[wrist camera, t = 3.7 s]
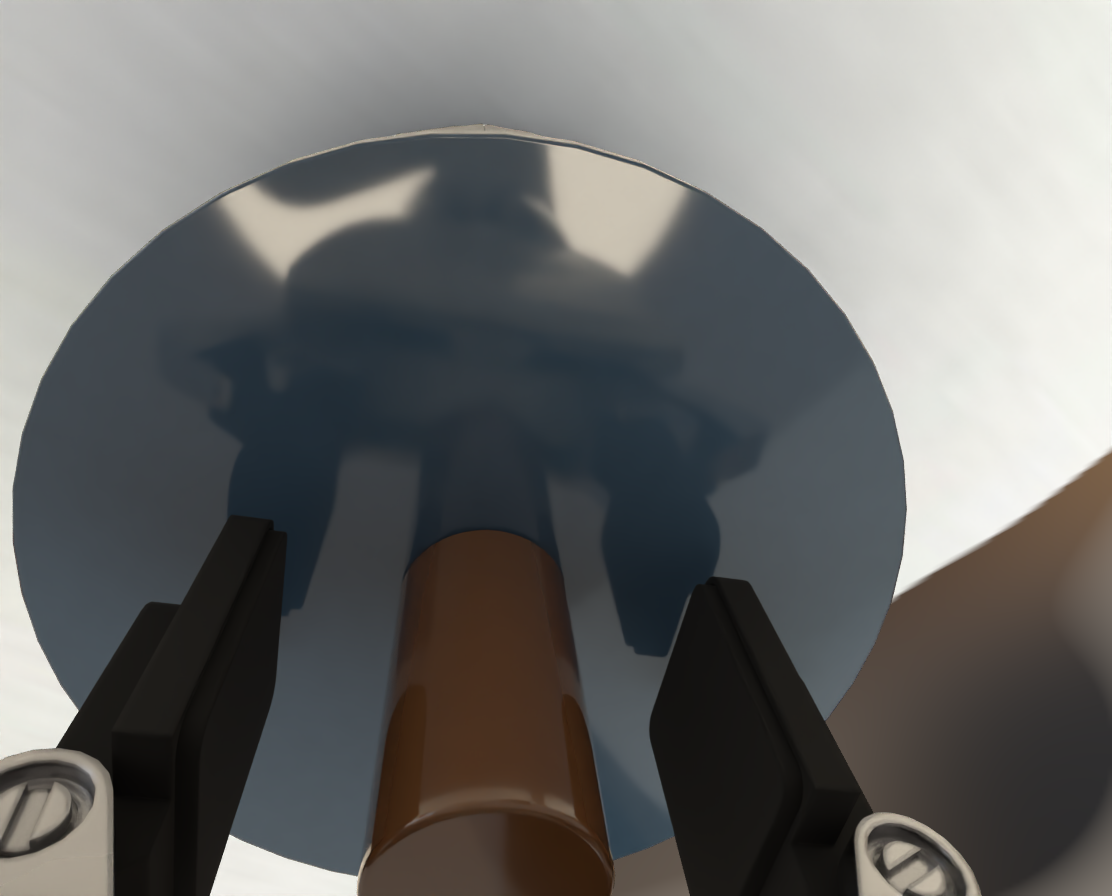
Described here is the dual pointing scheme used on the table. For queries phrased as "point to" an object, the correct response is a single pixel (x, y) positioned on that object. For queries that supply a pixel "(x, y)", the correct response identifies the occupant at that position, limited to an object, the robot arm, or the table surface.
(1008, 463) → the table surface
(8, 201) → the table surface
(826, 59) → the table surface
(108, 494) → the lid
